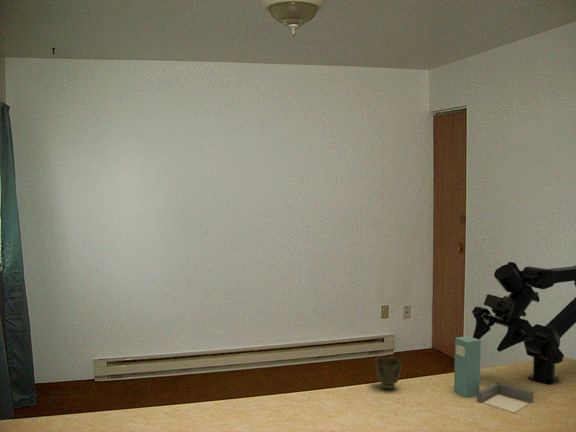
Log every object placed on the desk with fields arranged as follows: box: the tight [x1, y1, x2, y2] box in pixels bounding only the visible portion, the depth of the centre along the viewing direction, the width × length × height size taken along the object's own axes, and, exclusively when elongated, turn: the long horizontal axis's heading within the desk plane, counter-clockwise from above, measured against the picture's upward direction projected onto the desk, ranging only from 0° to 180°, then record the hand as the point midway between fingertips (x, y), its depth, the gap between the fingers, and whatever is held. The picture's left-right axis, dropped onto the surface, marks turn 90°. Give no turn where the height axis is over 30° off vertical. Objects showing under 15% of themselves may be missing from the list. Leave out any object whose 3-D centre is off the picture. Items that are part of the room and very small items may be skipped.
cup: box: [374, 355, 403, 391], centre depth 148 cm, size 8×7×8 cm
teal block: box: [453, 335, 482, 399], centre depth 145 cm, size 5×5×15 cm
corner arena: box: [476, 381, 534, 414], centre depth 140 cm, size 11×10×2 cm
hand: (485, 345), depth 147 cm, fingers open, 9 cm apart
